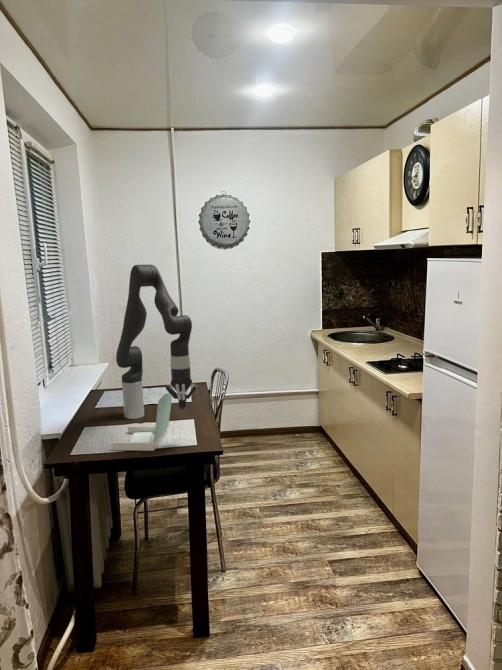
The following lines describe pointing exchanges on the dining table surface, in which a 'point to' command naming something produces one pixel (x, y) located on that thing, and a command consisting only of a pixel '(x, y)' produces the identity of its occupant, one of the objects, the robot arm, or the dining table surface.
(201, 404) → the dining table surface
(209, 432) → the dining table surface
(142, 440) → the hard drive
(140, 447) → the drive bay
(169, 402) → the cover
